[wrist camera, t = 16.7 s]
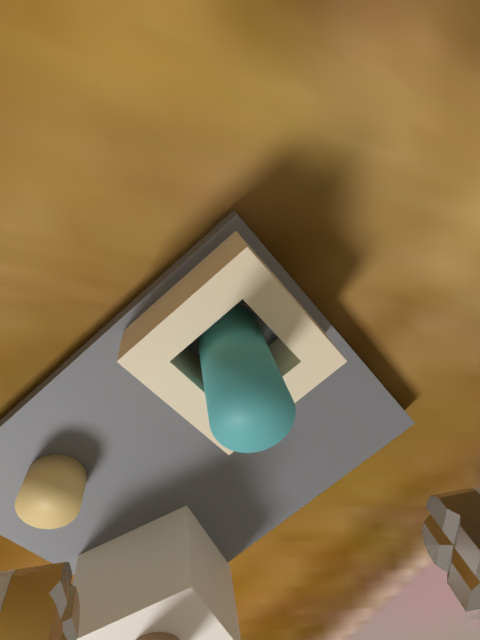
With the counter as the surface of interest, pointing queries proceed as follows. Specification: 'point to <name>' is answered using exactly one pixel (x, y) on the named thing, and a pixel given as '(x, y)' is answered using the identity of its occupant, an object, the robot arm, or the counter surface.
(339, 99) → the counter surface
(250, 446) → the pin
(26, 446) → the board
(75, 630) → the robot arm
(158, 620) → the cover
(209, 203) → the counter surface
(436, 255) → the counter surface
